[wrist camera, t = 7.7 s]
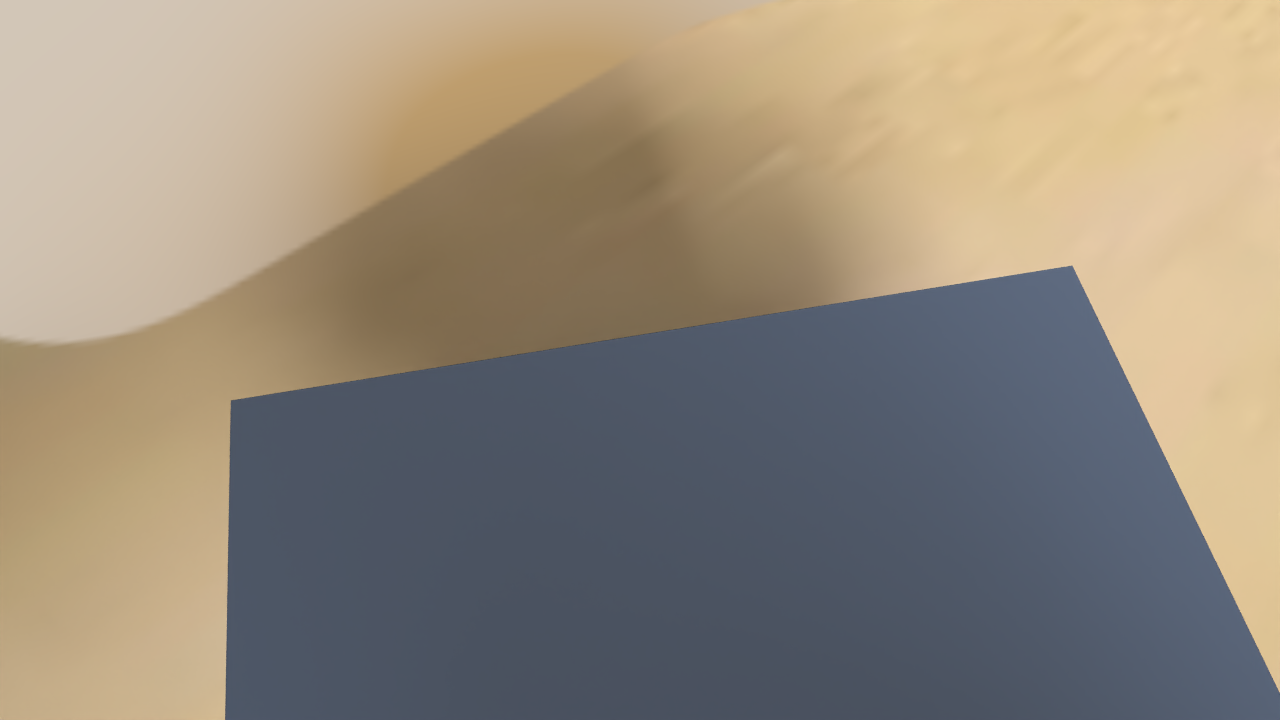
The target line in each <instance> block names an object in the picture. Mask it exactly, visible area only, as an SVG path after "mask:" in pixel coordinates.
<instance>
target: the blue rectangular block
mask: <svg viewBox="0 0 1280 720" xmlns="http://www.w3.org/2000/svg"><path fill="white" fill-rule="evenodd" d="M225 720H1280V693H1279V691H1278V689H1277V687H1276V684H1275V682H1274V680H1273V678H1272V676H1271V674H1270V672H1269V670H1268V668H1267V666H1266V664H1265V662H1264V660H1263V658H1262V656H1261V654H1260V652H1259V649H1258V647H1257V645H1256V643H1255V641H1254V639H1253V637H1252V635H1251V633H1250V631H1249V629H1248V627H1247V625H1246V623H1245V621H1244V619H1243V617H1242V614H1241V612H1240V610H1239V608H1238V606H1237V604H1236V602H1235V600H1234V598H1233V596H1232V594H1231V592H1230V590H1229V588H1228V586H1227V584H1226V581H1225V579H1224V577H1223V575H1222V573H1221V571H1220V569H1219V567H1218V565H1217V563H1216V561H1215V559H1214V557H1213V555H1212V553H1211V551H1210V549H1209V546H1208V544H1207V542H1206V540H1205V538H1204V536H1203V534H1202V532H1201V530H1200V528H1199V526H1198V524H1197V522H1196V520H1195V518H1194V516H1193V514H1192V511H1191V509H1190V507H1189V505H1188V503H1187V501H1186V499H1185V497H1184V495H1183V493H1182V491H1181V489H1180V487H1179V485H1178V483H1177V481H1176V478H1175V476H1174V474H1173V472H1172V470H1171V468H1170V466H1169V464H1168V462H1167V460H1166V458H1165V456H1164V454H1163V452H1162V450H1161V448H1160V446H1159V443H1158V441H1157V439H1156V437H1155V435H1154V433H1153V431H1152V429H1151V427H1150V425H1149V423H1148V421H1147V419H1146V417H1145V415H1144V413H1143V411H1142V408H1141V406H1140V404H1139V402H1138V400H1137V398H1136V396H1135V394H1134V392H1133V390H1132V388H1131V386H1130V384H1129V382H1128V380H1127V378H1126V375H1125V373H1124V371H1123V369H1122V367H1121V365H1120V363H1119V361H1118V359H1117V357H1116V355H1115V353H1114V351H1113V349H1112V347H1111V345H1110V343H1109V340H1108V338H1107V336H1106V334H1105V332H1104V330H1103V328H1102V326H1101V324H1100V322H1099V320H1098V318H1097V316H1096V314H1095V312H1094V310H1093V308H1092V305H1091V303H1090V301H1089V299H1088V297H1087V295H1086V293H1085V291H1084V289H1083V287H1082V285H1081V283H1080V281H1079V279H1078V277H1077V275H1076V272H1075V270H1074V268H1073V266H1067V267H1061V268H1055V269H1049V270H1042V271H1036V272H1030V273H1024V274H1017V275H1011V276H1005V277H999V278H992V279H986V280H980V281H974V282H967V283H961V284H955V285H949V286H943V287H936V288H930V289H924V290H918V291H911V292H905V293H899V294H893V295H886V296H880V297H874V298H868V299H861V300H855V301H849V302H843V303H837V304H830V305H824V306H818V307H812V308H805V309H799V310H793V311H787V312H780V313H774V314H768V315H762V316H755V317H749V318H743V319H737V320H731V321H724V322H718V323H712V324H706V325H699V326H693V327H687V328H681V329H674V330H668V331H662V332H656V333H649V334H643V335H637V336H631V337H625V338H618V339H612V340H606V341H600V342H593V343H587V344H581V345H575V346H568V347H562V348H556V349H550V350H543V351H537V352H531V353H525V354H519V355H512V356H506V357H500V358H494V359H487V360H481V361H475V362H469V363H462V364H456V365H450V366H444V367H437V368H431V369H425V370H419V371H412V372H406V373H400V374H394V375H388V376H381V377H375V378H369V379H363V380H356V381H350V382H344V383H338V384H331V385H325V386H319V387H313V388H306V389H300V390H294V391H288V392H282V393H275V394H269V395H263V396H257V397H250V398H244V399H238V400H232V401H231V425H230V481H229V537H228V593H227V650H226V706H225Z"/></svg>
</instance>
